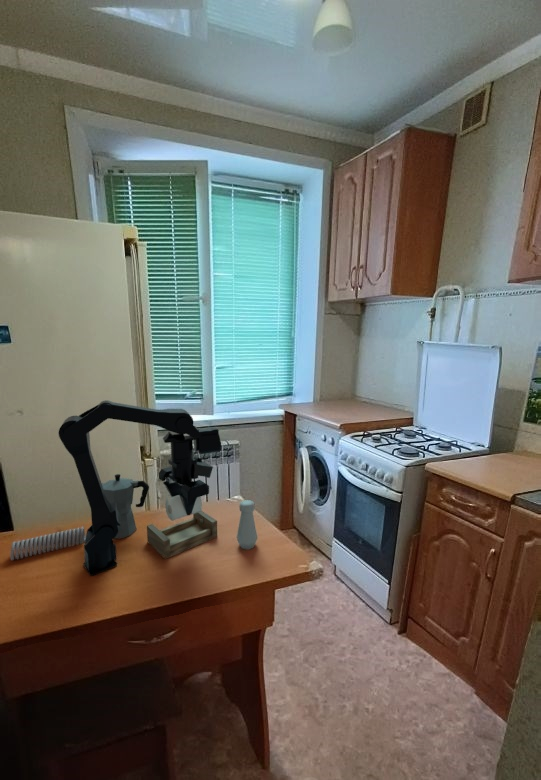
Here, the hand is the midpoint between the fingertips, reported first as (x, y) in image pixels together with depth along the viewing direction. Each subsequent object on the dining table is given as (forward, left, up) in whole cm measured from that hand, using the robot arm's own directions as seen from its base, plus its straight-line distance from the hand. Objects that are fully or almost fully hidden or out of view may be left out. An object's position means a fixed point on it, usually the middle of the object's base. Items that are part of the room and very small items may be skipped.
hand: (183, 510), depth 101 cm
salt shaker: (+14, -11, -11) cm, 21 cm away
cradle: (+2, +4, -11) cm, 12 cm away
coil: (-28, +24, -12) cm, 39 cm away
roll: (0, 0, -1) cm, 1 cm away
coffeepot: (-9, +20, -11) cm, 25 cm away
